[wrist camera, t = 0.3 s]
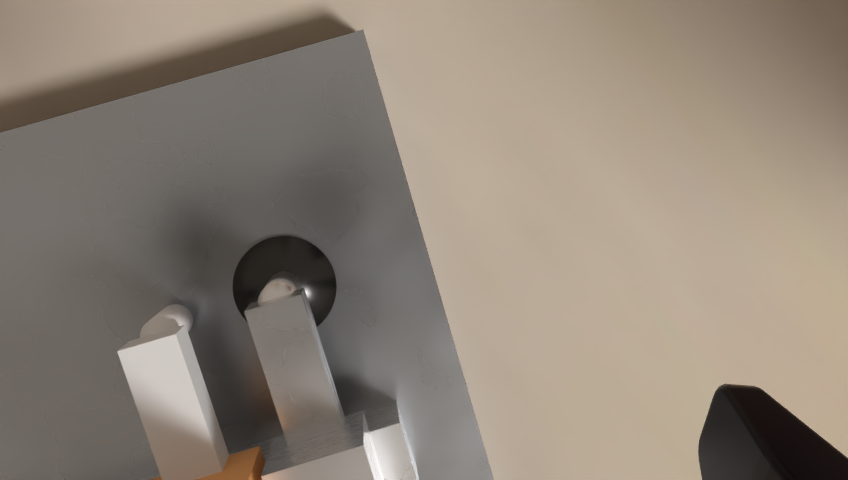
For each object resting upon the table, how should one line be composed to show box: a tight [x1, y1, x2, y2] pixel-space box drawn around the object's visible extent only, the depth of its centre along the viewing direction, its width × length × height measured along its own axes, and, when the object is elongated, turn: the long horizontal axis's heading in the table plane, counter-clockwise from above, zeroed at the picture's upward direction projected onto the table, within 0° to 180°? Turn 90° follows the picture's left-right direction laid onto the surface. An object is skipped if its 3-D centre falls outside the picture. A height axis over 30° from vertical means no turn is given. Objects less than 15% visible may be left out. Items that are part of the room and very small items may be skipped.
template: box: [0, 30, 494, 480], centre depth 20 cm, size 14×20×5 cm
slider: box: [117, 304, 265, 480], centre depth 18 cm, size 7×3×7 cm, turn 16°
